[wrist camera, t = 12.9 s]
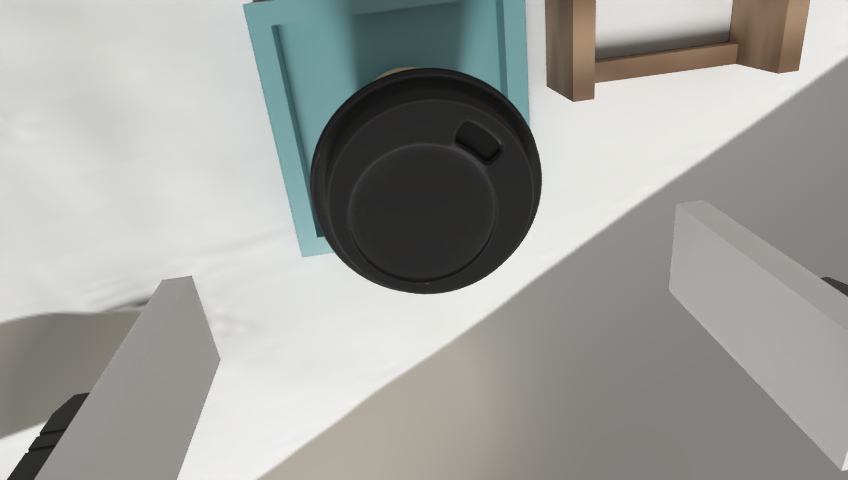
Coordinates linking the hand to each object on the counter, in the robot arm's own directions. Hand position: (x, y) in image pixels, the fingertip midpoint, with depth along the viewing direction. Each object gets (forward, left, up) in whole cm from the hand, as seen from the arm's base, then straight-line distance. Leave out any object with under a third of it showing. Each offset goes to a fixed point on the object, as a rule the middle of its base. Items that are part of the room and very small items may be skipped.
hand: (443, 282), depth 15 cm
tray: (0, 0, -22) cm, 22 cm away
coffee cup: (0, 0, -22) cm, 22 cm away
